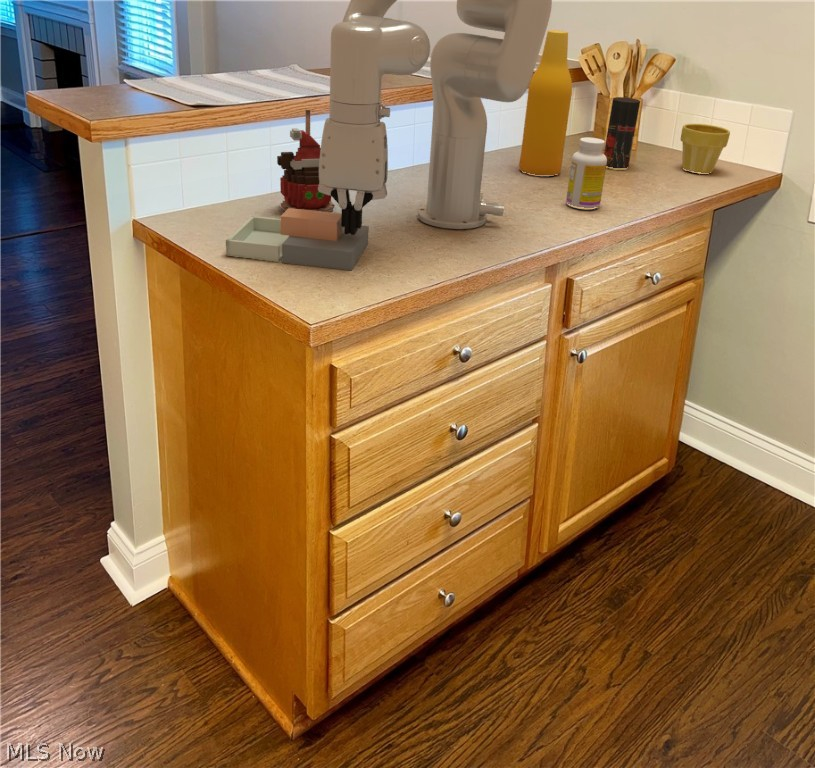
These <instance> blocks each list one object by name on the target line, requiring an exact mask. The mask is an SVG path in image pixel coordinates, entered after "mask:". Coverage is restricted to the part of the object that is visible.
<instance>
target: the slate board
mask: <svg viewBox="0 0 815 768" xmlns="http://www.w3.org/2000/svg"><path fill="white" fill-rule="evenodd" d="M344 229H345V227H343V232H342V234H341V235H340V237H339V238H338V239H337V241H333V240H324V239H315V238H307V237H298V236H289V237H288V238H287V239H286V240H285V241H284V243H283V244H282V259H281V261H282V262H281V263H284V264H293V265H298V266H299V265H301V266H307V267H309V266H310V267H317V268H326V269H334V270H343V271H344V270H345V271H350V272H351V271H352V270H354V267H355V266H356V264H357V262H358V261H359V259H360V257H362V254H363V253H364V251H365V249H366V248H367V246H368V244H369V231H370V230H369V229H370V226H369V225H362V226H361V228H360V229H359V228H358V230H357V232H356V234H355V235H351V234H350V233H349V234H344Z"/></svg>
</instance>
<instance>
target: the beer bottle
mask: <svg viewBox="0 0 815 768" xmlns="http://www.w3.org/2000/svg"><path fill="white" fill-rule="evenodd" d="M568 44H569V32H568V31H564V30H554V29H553V30H551V29H550V30H547V31H546V37H545V41H544V46H543V50H542V55H541V60H540V62H539V64H538V66H537V67H536V70H534V72H533V75H532V78H531V81H530V83H529V86H528V89H527V90H528V91H527V100H526V106H525V107H526V109H525V118H524V124H523V132H522V133H523V134H522V141H521V142H522V143H521V150H520V157H519V158H520V159H519V165H518V166H519V171H520V170H521V171H523V172H526V173H530V174H535V175H555V174H558V173H559V174H560V173H561V171H562V167H563V158H564V150H565V149H564V148H565V144H566V137H567V135H566V134H567V128H568V122H569V121H568V120H569V116H570V115H569V114H570V108H571V101H572V95H573V82H572V76H571V73H570V70H569V64H568V49H569V48H568V46H569V45H568ZM521 171H520V172H521Z"/></svg>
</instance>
